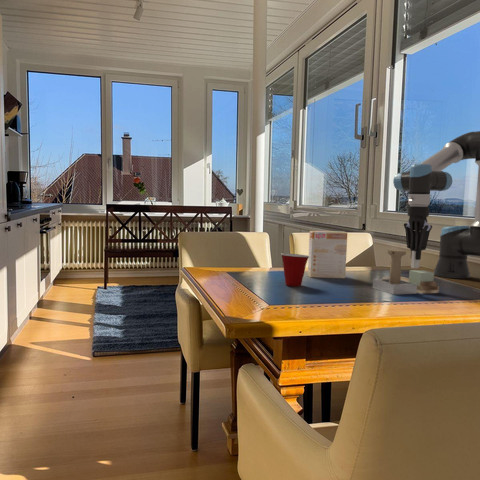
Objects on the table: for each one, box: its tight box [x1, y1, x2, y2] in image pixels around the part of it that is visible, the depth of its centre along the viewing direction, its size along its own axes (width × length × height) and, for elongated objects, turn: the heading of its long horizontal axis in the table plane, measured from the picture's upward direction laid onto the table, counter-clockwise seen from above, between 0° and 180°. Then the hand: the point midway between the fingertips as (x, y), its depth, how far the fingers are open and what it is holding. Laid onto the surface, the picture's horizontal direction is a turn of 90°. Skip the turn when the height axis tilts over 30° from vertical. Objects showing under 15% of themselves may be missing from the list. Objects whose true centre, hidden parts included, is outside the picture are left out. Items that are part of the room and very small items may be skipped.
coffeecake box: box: [307, 230, 348, 279], centre depth 191 cm, size 15×7×20 cm, turn 92°
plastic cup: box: [280, 252, 309, 287], centre depth 168 cm, size 11×11×12 cm
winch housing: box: [372, 278, 418, 296], centre depth 164 cm, size 10×12×4 cm
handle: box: [387, 248, 407, 284], centre depth 164 cm, size 5×6×15 cm
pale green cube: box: [408, 269, 435, 286], centre depth 167 cm, size 6×6×6 cm
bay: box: [382, 276, 440, 294], centre depth 173 cm, size 8×22×4 cm, turn 19°
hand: (415, 267), depth 171 cm, fingers closed
